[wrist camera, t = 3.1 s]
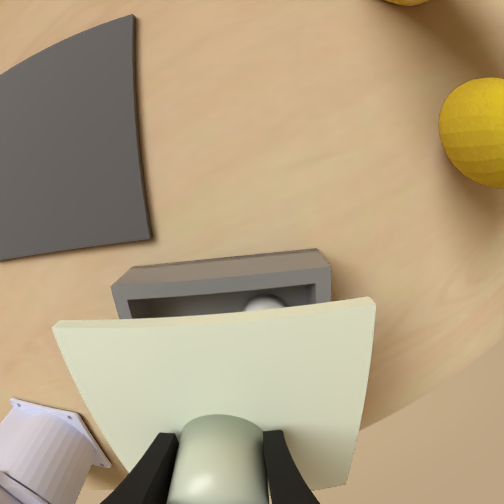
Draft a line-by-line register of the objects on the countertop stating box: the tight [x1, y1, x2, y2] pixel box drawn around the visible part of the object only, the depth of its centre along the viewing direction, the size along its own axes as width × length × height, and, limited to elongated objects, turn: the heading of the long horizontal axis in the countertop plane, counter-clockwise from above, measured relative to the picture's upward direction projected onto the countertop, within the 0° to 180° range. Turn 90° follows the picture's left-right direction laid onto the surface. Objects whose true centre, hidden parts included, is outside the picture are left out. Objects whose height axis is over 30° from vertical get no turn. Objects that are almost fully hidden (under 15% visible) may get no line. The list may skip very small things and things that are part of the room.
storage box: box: [111, 248, 331, 319], centre depth 16 cm, size 10×10×3 cm
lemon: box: [439, 78, 504, 189], centre depth 10 cm, size 6×6×8 cm
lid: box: [52, 296, 376, 504], centre depth 9 cm, size 11×11×5 cm
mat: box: [0, 14, 152, 260], centre depth 13 cm, size 13×13×1 cm
